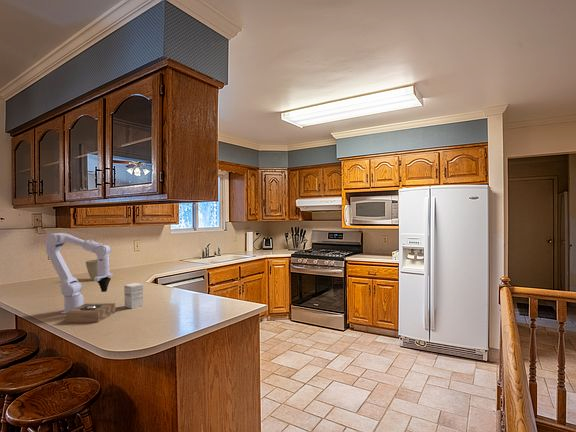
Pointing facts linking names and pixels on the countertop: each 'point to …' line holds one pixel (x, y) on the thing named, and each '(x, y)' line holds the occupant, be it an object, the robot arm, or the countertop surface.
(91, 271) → the plant pot
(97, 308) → the walnut block
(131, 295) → the supplement box
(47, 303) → the countertop surface
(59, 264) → the robot arm
